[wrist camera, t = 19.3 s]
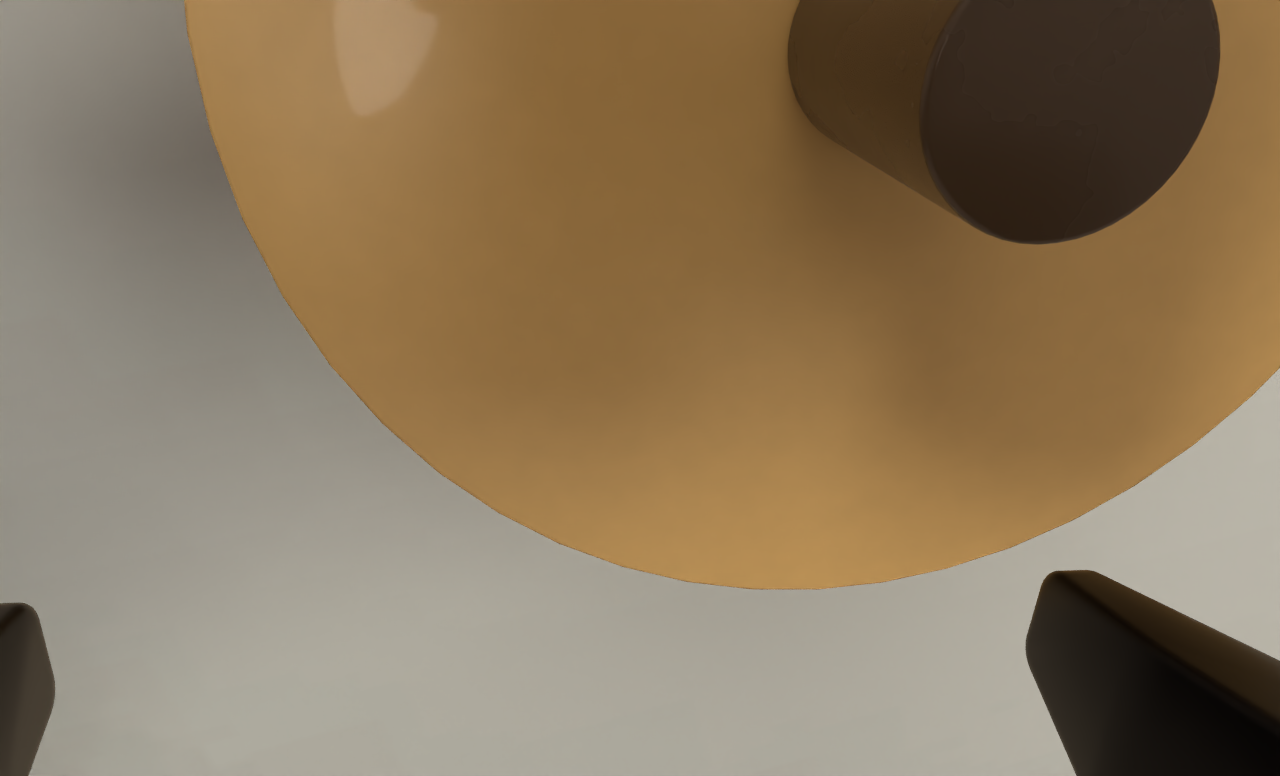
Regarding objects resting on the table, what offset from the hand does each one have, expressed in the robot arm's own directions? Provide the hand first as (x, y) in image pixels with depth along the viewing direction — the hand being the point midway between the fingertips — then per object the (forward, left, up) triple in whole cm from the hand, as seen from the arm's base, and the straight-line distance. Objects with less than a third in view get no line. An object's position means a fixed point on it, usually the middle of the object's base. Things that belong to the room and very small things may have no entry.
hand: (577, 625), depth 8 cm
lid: (+2, +6, -5) cm, 8 cm away
